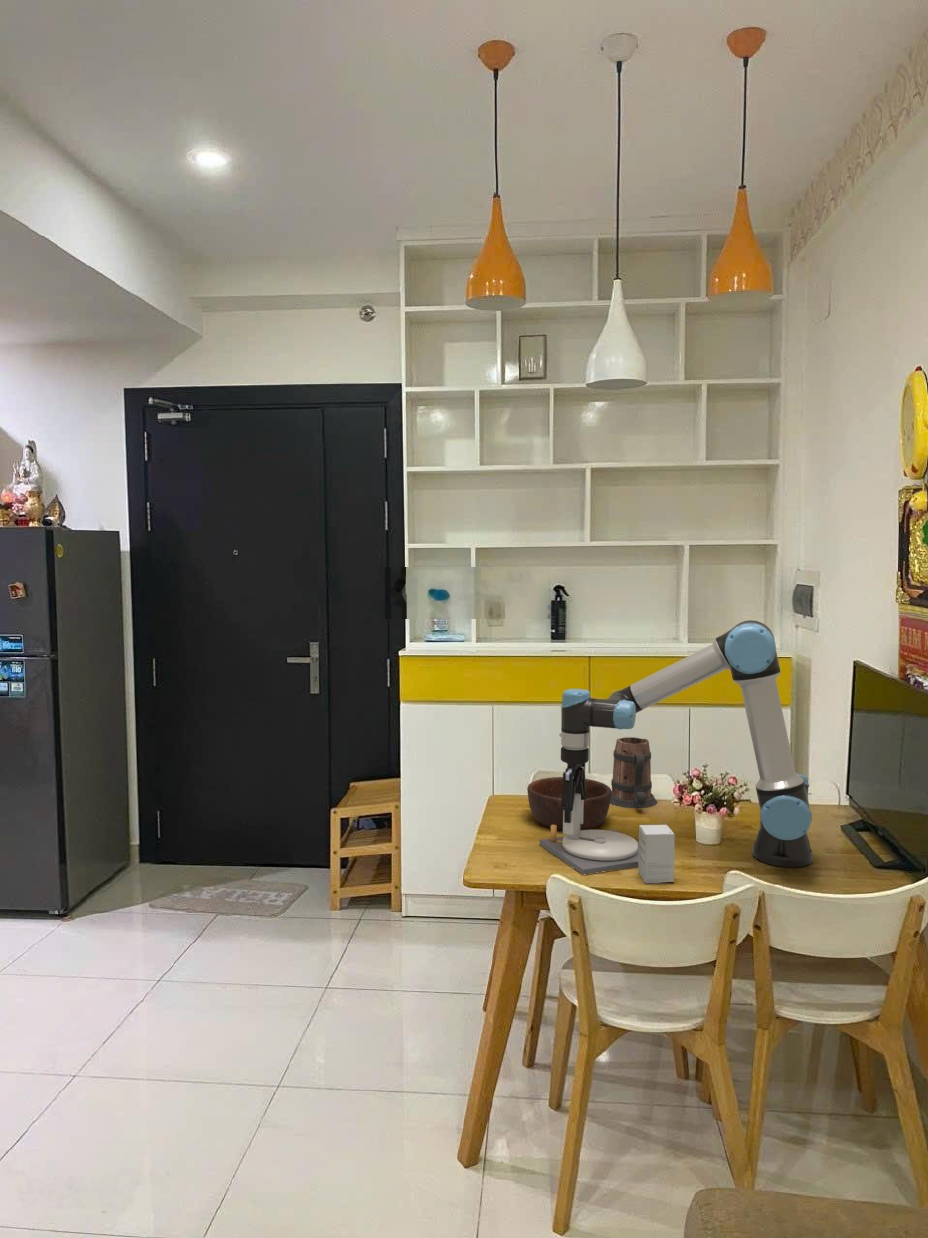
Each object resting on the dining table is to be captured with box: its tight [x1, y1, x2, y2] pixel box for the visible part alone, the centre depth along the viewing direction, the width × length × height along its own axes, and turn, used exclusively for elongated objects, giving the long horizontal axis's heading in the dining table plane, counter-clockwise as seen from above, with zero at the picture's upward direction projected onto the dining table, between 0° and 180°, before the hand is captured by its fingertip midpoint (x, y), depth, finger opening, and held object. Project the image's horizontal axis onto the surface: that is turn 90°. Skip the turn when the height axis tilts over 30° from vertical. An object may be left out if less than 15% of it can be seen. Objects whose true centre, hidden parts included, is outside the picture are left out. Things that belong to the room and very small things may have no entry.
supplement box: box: [637, 824, 676, 884], centre depth 220 cm, size 7×7×13 cm
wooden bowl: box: [527, 776, 612, 831], centre depth 265 cm, size 25×25×10 cm
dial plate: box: [539, 825, 639, 876], centre depth 237 cm, size 24×24×6 cm
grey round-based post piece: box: [563, 793, 639, 861], centre depth 237 cm, size 20×20×14 cm
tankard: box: [610, 736, 658, 809], centre depth 283 cm, size 24×17×20 cm
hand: (573, 828), depth 240 cm, fingers open, 9 cm apart
